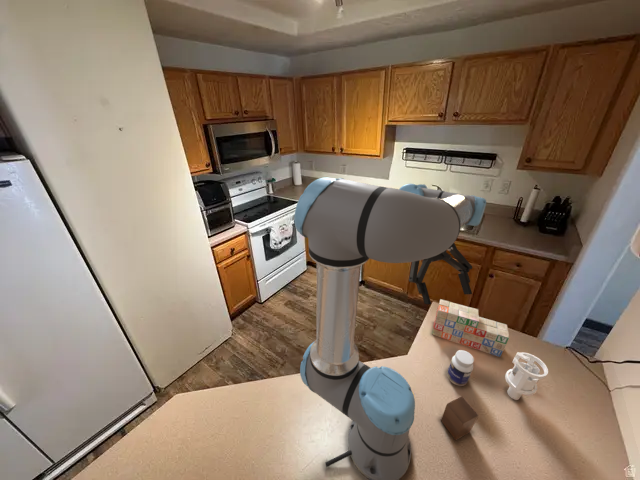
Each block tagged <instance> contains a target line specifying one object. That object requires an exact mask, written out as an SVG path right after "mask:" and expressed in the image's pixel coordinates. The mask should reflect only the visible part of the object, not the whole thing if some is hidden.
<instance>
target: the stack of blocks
mask: <svg viewBox="0 0 640 480" xmlns="http://www.w3.org/2000/svg"><path fill="white" fill-rule="evenodd" d="M432 335H434V336H436V337H439V338H441V339H444V340H448V341H450V342H453V343H455V344H458V345H459V344H460V345H462V346H465V347H469V348H472V349H475V350H479V351H481V352H484V353H487V354H489V355H491V356H496V357H499V358H500V357H501V356H502V355H503V352H504V350H505V348H506V346H507V344H508V342H509V339H510V334H509V328H508V324H506V323H502V322H499V321H495V320H493V319H490V318H489V319H488V318H484V317H483V316H480V315H479V308H474V307H470V306H467V305H463V304H459V303H455V302H452V301H449V300H445V299H441V298H440V299H439V303H438V306H437V309H436V313H435V318H434V322H433V326H432Z"/></svg>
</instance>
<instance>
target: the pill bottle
mask: <svg viewBox="0 0 640 480" xmlns="http://www.w3.org/2000/svg"><path fill="white" fill-rule="evenodd" d="M474 361H475V359H474V357H473V354H471V353H470V352H469V351H466V350H464V349H459V350H457V351H456V352H455V355H453V356H452V357H451V359H450V363H449V365H448V369H447V371H446V376H447V378H448V380H449V381H450V382H451V383H452V384H453V385H456V386H458V387H462V386H466V385H467V384H468V382H469V379H470V377H471V375H472V372H473V370H474Z"/></svg>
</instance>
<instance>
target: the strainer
mask: <svg viewBox="0 0 640 480" xmlns="http://www.w3.org/2000/svg"><path fill="white" fill-rule="evenodd" d="M520 359H521V360H523V361H525V362H523V361H519V360H520ZM526 362H527V363H526ZM535 362H536V363H537V364H538V365H539V366H540V367H541V368H542V370H543V373H542V374H541V373H540V371H541V369H540V367H539V366H538V365H537V364H536V363H535ZM512 364H514V366H513V367H512V368H510V369H508V370H507V371H506V373H505V375H504V379H505V381H506V383H507V384H508V386H509V387H508V388H507V390H506V393H507V395H508V397H509V398H511V399H512V400H515V401H517V400H520V398H521V396H522V395H523V396H528V397H529V396H533V395H535V394H536V393H537V391H538V384H537V383H538V382H539V380H543V379H545V378H546V377H547V376H548V374H549V369H548V366H547V365H546V363H545V362H544V361H543V360H541V358H539V357H538V356H536V355H533V354H532V353H528V352H523V351H521V352H519V351H517V352H516V354H515V356H514V357H513V360H512Z"/></svg>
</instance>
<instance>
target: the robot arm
mask: <svg viewBox="0 0 640 480" xmlns="http://www.w3.org/2000/svg"><path fill="white" fill-rule="evenodd" d="M486 207H487V199H486V198H485V197H481V196H476V195H474V194H473V195H469V194H465V193H464V194H463V193H458V192H457V193H456V192H451V191H445V190H439V189H434V188H429V187H428V185H426V184H425V183H424V184H421V183H420V184H415V183H406V184H403V185H402V186H401V187H399V188H393V187H387V186H381V185H375V184H371V183H370V184H369V183H364V182H359V181H354V180H350V179H345V178H343V177H339V178H338V177H337V178H335V177H320V178H317V179H314V180H313V181H312V182H311V183H309V184H308V185H307V187H305V188H304V191H303V192H302V194H301V195H300V196H299V198H298V200H297V203H296V206H295V210H294V218H293V219H294V227H295V229H296V231H297V232H298V233H299V234H300V235H301V236H302V237H304V238H307V239H308V255H309V258H311V260H312V261H314V262H315V263H316V311H315V312H316V314H315V315H316V317H315V318H316V319H315V320H316V321H315V322H316V325H315V327H316V328H315V329H316V331H315V335H316V339H315V340H314V341H313V342H311V343H310V344H309V346H308V347H307V348H306V350H305V352H304V354H303V356H302V359H303V360H302V361H301V362H300V367H299V375H300V380H301V381H302V382H303V384H304V385H305V386H306V387H307V388H308V389H309V390H310V391H311V392H312V393H314V394H316V395H318V396H319V397H320V398H321V399H323V400H324V401H325V402H327V404H330V405H331V406H332V407H333V408H335V409H336V410H338V411H339V412H340V413H342V414H343V415H344V416H346V417H347V418H348V419H350V420H351V424H350V426H349V429H348V436H347V445H348V451H346V452H344V453H342V454H339V455H338V456H335V457H333V458H332V459H329V460H327V461H325V467H326V468H328V467H330V466H332V465H334V464H336V463H338V462H340V461H342V460H344V459H346V458H348V457H350V459H351V460H352V462H353V464H354V465H355V468H357V470H358V471H359V472H360V474H362V475H363V476H364V477H365V478H366V479H368V480H400V479H402V478H403V477H404V475H405V474H406V473H407V471H408V469H409V467H410V462H411V458H412V444H411V439H410V436H409V433H410V430H411V428H412V426H413V424H414V421H415V411H416V410H415V409H416V400H415V395H414V392H413V390H412V387H411V386H410V384H409V383H408V381H407V379H406V378H405V377H404V376H403V375H402V374H401V373H399V372H398V371H396V370H395V369H393V368H391V367H388V366H383V365H382V366H379V367H378V366H373V367H371V366H369V365H367V364H365V363H364V362H362V361H360V352H359V348H358V346H357V344H356V343H355V334H356V324H357V323H356V322H357V312H358V303H359V292H360V281H361V269H362V266H363V265H365V264H366V263H367V262H368V261H369V260H374V261H376V262H379V263H380V262H381V263H386V264H405V263H406V264H407V263H411V265H410V271H409V277H408V282H409V283H413V284H416V288H417V292H418V294H419V295H421V296H422V300H423V303H424V305H431V304H432V301H431V297H430V294H429V291H428V287H427V284H426V282H425V281H424V278H425V276H426V274H427V271H428V269H429V266H430V264H431V263H433V262H434V263H435V262H439V261H444V262H445V263H447V264H449V265H450V266H451V267H452V268H453V269H455V270H456V271H457V272H459V273H457V275H458V279H459V282H460V285H461V289H462V291H463V295H472V294H473V292H472V289H471V285H470V283H471V279H470V276H469V272H470V270H472V269H473V266H472V264H471V263H470V261H468V259H466V257H465V256H464V255H463V254H462V253H461V251H459V249H458V247H457V245H456V243H455V242H456V241H457V239H458V238H459V235H460V232H461V228H462V227H463V225H464V226H473V227H477V226H479V225H480V224H481V222H482V220H483V219H482V218H483V216H484V214H485V210H486ZM447 251H448V252H449V253H450V254H449V253H448V252H447ZM420 261H422V262H421V265H420ZM419 265H420V268H419Z"/></svg>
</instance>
